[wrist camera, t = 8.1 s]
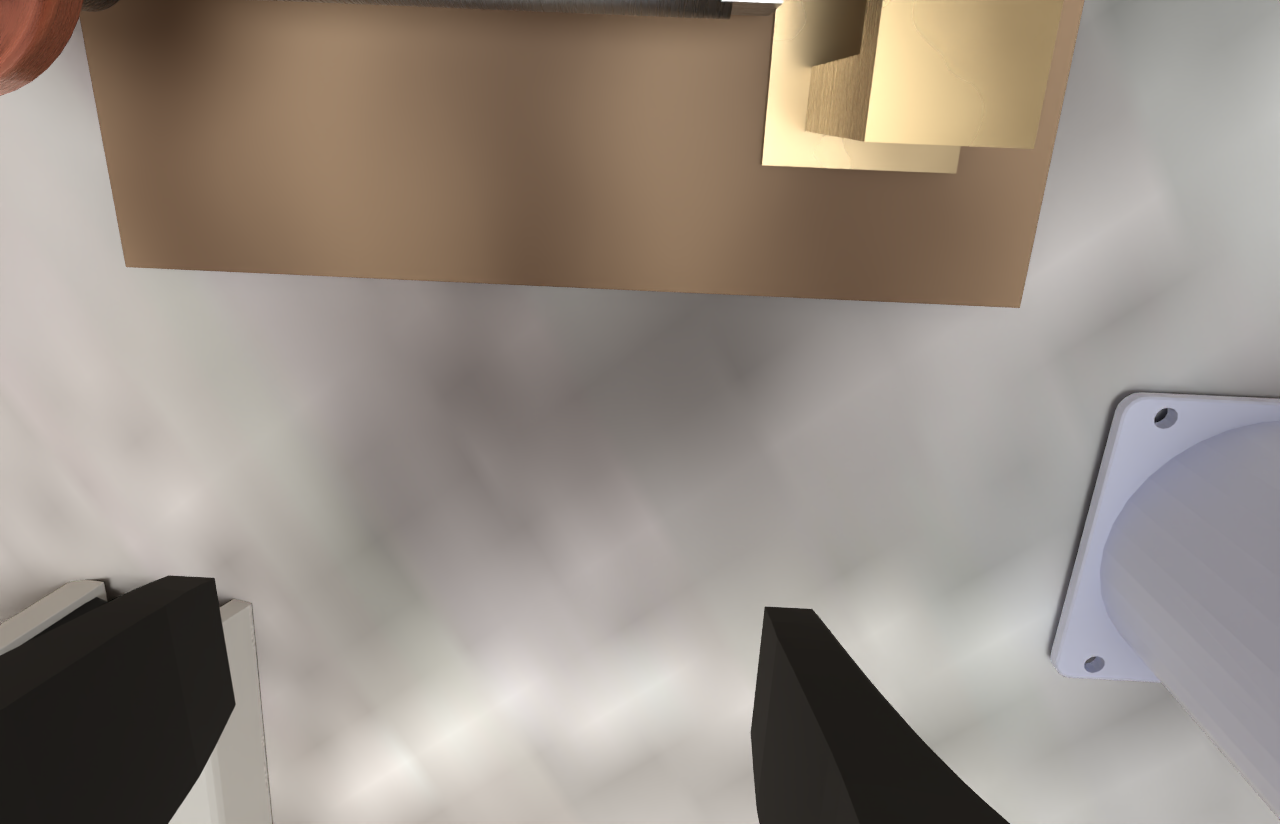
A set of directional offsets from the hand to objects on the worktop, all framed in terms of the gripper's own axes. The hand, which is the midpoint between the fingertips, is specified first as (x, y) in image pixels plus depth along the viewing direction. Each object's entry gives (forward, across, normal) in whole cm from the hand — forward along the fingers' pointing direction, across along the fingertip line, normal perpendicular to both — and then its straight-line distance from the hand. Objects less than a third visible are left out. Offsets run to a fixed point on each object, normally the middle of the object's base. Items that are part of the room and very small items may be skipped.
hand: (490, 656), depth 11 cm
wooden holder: (+9, -6, -9) cm, 14 cm away
